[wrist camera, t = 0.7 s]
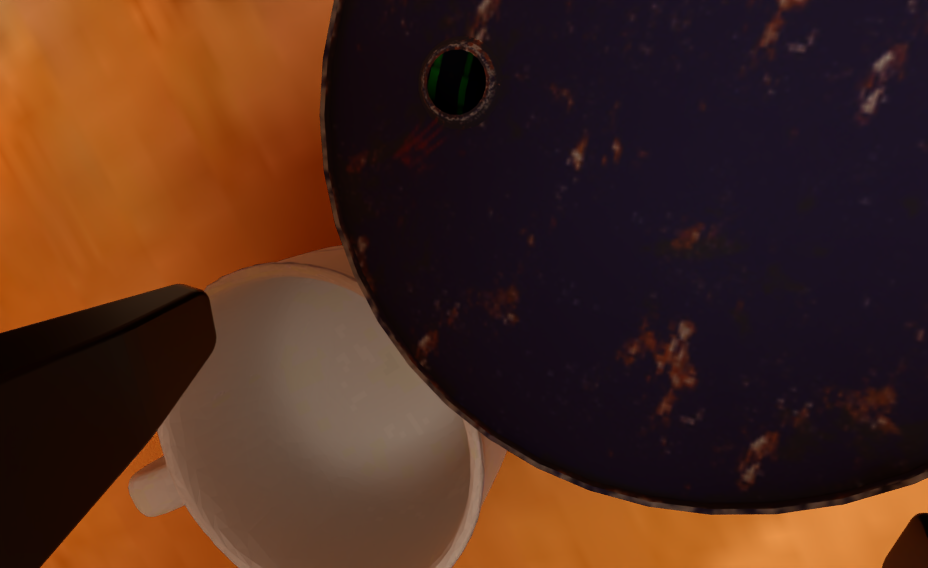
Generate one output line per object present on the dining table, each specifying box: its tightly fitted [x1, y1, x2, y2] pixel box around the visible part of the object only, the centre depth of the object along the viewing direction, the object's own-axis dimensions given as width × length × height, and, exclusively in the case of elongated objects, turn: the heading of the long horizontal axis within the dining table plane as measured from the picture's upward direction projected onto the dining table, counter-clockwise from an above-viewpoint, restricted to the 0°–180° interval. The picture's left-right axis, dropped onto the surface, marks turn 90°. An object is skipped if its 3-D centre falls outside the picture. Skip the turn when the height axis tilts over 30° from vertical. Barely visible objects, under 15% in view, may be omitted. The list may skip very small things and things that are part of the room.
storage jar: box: [320, 0, 928, 515], centre depth 15 cm, size 10×10×15 cm
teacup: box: [128, 245, 507, 568], centre depth 23 cm, size 14×11×8 cm
